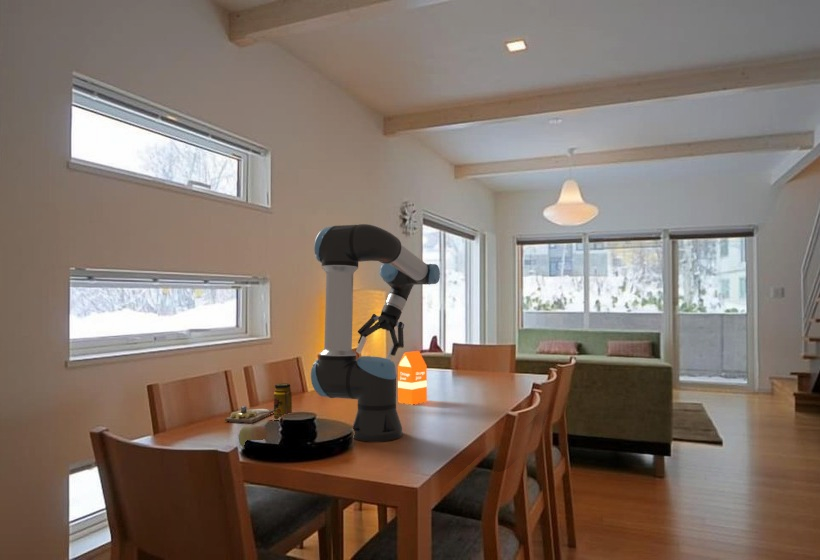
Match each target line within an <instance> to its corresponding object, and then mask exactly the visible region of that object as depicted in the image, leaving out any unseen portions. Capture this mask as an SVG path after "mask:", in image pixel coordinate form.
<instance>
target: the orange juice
mask: <svg viewBox="0 0 820 560" xmlns="http://www.w3.org/2000/svg"><path fill="white" fill-rule="evenodd" d="M427 367H428V366H427V364H426V361H425V360H424V358H423V356H422V354H421V352H420V350H416V351H406V352H404V353H403V355H402V357H401V359H400V360H399V363H398V365H397V396H398V397H397V399H398V400H397V403H398V402H399V404H403V403H405V404H404V405H408V404H411V405H410V406H414V405H413V404H415V405H419V404H418V403H420V404H424V403H427V402H428V391H427V390H428V388H427V387H428V381H427V380H428V379H427V378H428V377H427V376H428V375H427V373H428V372H427V371H428V370H427ZM423 402H424V403H423Z"/></svg>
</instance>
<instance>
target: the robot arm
mask: <svg viewBox="0 0 820 560" xmlns="http://www.w3.org/2000/svg"><path fill="white" fill-rule="evenodd" d="M313 247H314V248H313V251H314V255H315V258H316V260H317V261H318V262H319V263H321V269H323V271H324V272H325V303H324V304H325V306H324V308H325V310H324V312H325V313H324V314H325V315H324V342H323V343H324V346H323V347H324V349H322V351H321V352H320V353H318V354H319V355H318V359H316V360H315V361H314V362H313V364H312V367H311V369H310V381H311V385H312V388H313V389H314V391H315V392H316V394H318V395H319V396H321V397H324V398H330V399H335V398H336V399H349V400H350V399H351V400H357V412H356V415H355V418H354V421H353V424H352V428H353V429H354V431H355V435H354V438H353V439H355V440H357V441H362V442H367V443H368V442H371V443H372V442H375V443H376V442H377V443H378V442H379V443H381V442H389V441H395V440H398V439H400V438H401V437H402V436H403V427H402V423H401V420H400V417H399V414H398V412H397V378H398V374H397V372H396V371H397V368H396V363H395V361H392V358H393V357H395V356H396V353H397V352H398V349H403V348H405V347H404V345H405V344H404V342H405V341H404V327H405V324H404V323H403V322H402V321H399V320H400V318H401V315H402V313H403V311H404V308H405V306H406V303H407V301H408V299H409V295H410V294H411V291H412V290H413V287H414V286H415V285H418V286H419V285H429V286H430V285H434V284H435V285H436V284H438V283H439V282H440V279H441V272H440V267H439V265H437V263H429V264H428V263H426V262H424V261H423V260H422V259H420V258H419V257H418V256H417V255H415V254H414V253H412V251H410V250H409V249H408V248H406V247H405V246H403V245H402V242H401V240H400V239H399V238H398V237H397V236H395V235H394V234H392V233H391V232H390V231H388V230H386V229H384V228H382V227H378V226H375V225H373V224H367V223H366V224H365V223H362V224H361V223H360V224H347V225H346V224H345V225H332V226H327V227H324V228H322V229H321V230H320V231H319V232H318V234H317V236H316V237H315V241H314V246H313ZM359 262H380V263H382V264H381V266H380V268H379V275H380V277H381V279H382V280H383V281H384V282H385V283H386V284H387V285H388V286H389V287H390V288H391V289H390V291H389V293H388V296H387V298H386V300H385V304H384V305H383V307H382V310H381V312H380V315H376V313H373V314H372V315H371V317H370V318H369V319H368V321H366V322H365V323H364V324H363V325H362V326H361V327H360V328H359V329H358V330H357V333H358V334H359V335H360V337H359V338H358V341H357V344H358V345H357V347H356V349H355V351H354V350H353V310H354V309H353V308H354V307H353V306H354V304H353V303H354V273H355V272H357V271H358V269H359ZM396 327H397V335H396V330H395V328H396ZM380 329H381V330H385V331H388V332H389V333H390V336H391V339H392V344H393V345H392V344H391V346H390V348H389V351H388V353H387V356H386V358H385V357H379V356H370V355H365V356H364V355H363V356H359V357H358V358H357V354H358V355H361V353H362V351H363V349H364V347H365V344H366V342H367V340H368V338H367V337H368V336H370V335H371V334H373V333H375V332H377V331H378V330H380Z"/></svg>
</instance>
